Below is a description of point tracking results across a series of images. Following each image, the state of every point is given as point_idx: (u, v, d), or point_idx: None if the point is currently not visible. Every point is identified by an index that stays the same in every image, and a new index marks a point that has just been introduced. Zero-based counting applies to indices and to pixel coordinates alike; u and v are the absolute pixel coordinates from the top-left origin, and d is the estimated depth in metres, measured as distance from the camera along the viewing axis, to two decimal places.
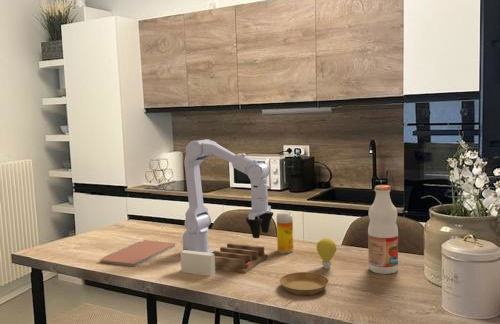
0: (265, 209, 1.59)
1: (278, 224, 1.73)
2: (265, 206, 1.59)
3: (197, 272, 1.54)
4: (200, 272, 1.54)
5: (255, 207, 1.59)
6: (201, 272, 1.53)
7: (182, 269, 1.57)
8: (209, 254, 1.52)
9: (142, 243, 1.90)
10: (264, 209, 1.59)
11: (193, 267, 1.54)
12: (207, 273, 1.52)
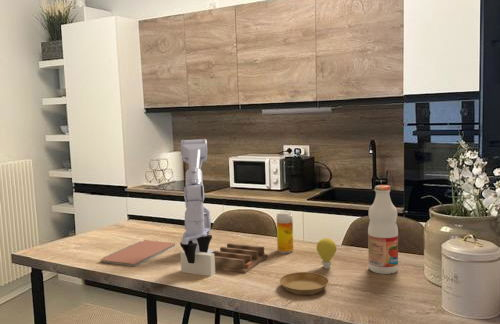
0: (201, 233, 1.52)
1: (278, 224, 1.73)
2: (201, 229, 1.52)
3: (197, 272, 1.54)
4: (200, 272, 1.54)
5: (190, 230, 1.51)
6: (201, 272, 1.53)
7: (182, 269, 1.57)
8: (209, 254, 1.52)
9: (142, 243, 1.90)
10: (199, 233, 1.52)
11: (193, 267, 1.54)
12: (207, 273, 1.52)
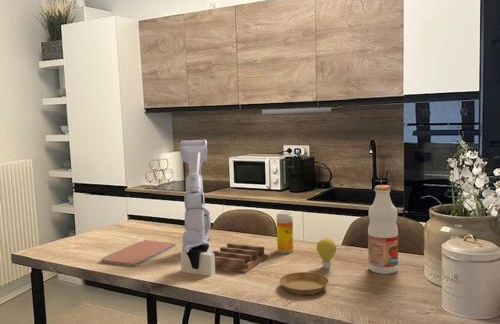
0: (201, 240, 1.52)
1: (278, 224, 1.73)
2: (201, 237, 1.52)
3: (197, 272, 1.54)
4: (200, 272, 1.53)
5: (190, 238, 1.52)
6: (201, 272, 1.53)
7: (182, 268, 1.57)
8: (209, 254, 1.52)
9: (143, 243, 1.90)
10: (200, 240, 1.52)
11: None
12: (207, 273, 1.52)
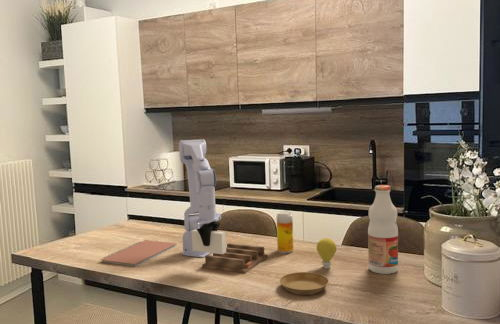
0: (212, 218, 1.53)
1: (278, 224, 1.73)
2: (212, 214, 1.53)
3: (208, 250, 1.55)
4: (211, 250, 1.55)
5: (201, 215, 1.53)
6: (212, 250, 1.54)
7: (193, 247, 1.58)
8: (220, 232, 1.53)
9: (143, 243, 1.90)
10: (211, 218, 1.53)
11: None
12: (218, 251, 1.53)
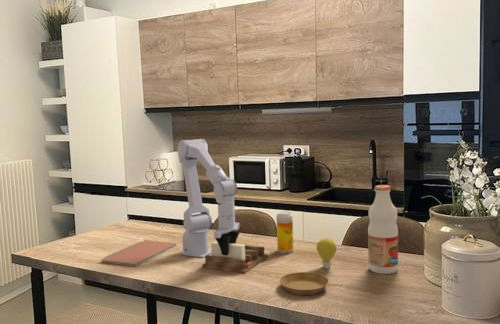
0: (232, 227, 1.57)
1: (278, 224, 1.73)
2: (232, 224, 1.56)
3: None
4: None
5: (221, 224, 1.56)
6: None
7: None
8: (240, 245, 1.57)
9: (143, 243, 1.90)
10: (231, 227, 1.56)
11: None
12: None
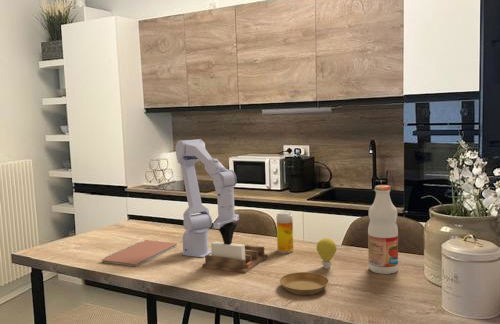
0: (231, 218, 1.56)
1: (278, 224, 1.73)
2: (231, 215, 1.56)
3: None
4: None
5: (221, 215, 1.56)
6: None
7: None
8: (240, 245, 1.57)
9: (144, 243, 1.90)
10: (230, 218, 1.56)
11: None
12: None
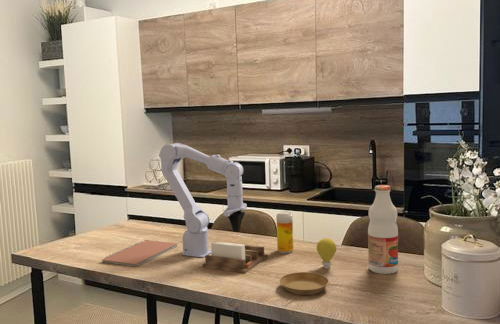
0: (240, 206, 1.68)
1: (278, 224, 1.73)
2: (240, 204, 1.68)
3: None
4: None
5: (230, 204, 1.68)
6: None
7: None
8: (240, 245, 1.57)
9: (144, 243, 1.90)
10: (239, 206, 1.68)
11: None
12: None
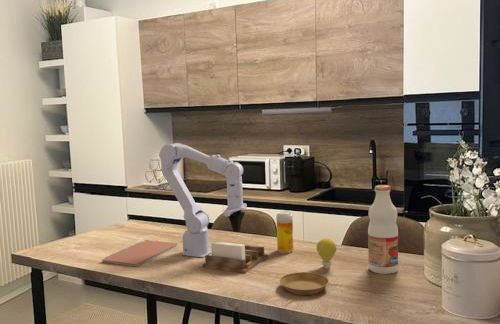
0: (240, 206, 1.68)
1: (278, 224, 1.73)
2: (240, 204, 1.68)
3: None
4: None
5: (230, 204, 1.68)
6: None
7: None
8: (240, 245, 1.57)
9: (144, 243, 1.89)
10: (239, 206, 1.68)
11: None
12: None
